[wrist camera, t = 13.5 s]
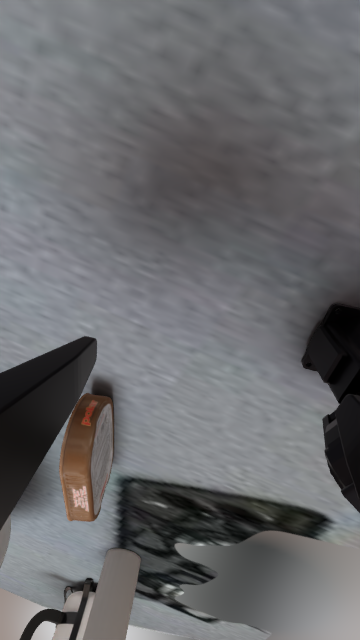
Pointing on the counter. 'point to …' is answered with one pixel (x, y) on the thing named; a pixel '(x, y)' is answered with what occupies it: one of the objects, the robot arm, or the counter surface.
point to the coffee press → (66, 615)
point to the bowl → (4, 539)
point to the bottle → (113, 596)
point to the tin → (87, 456)
